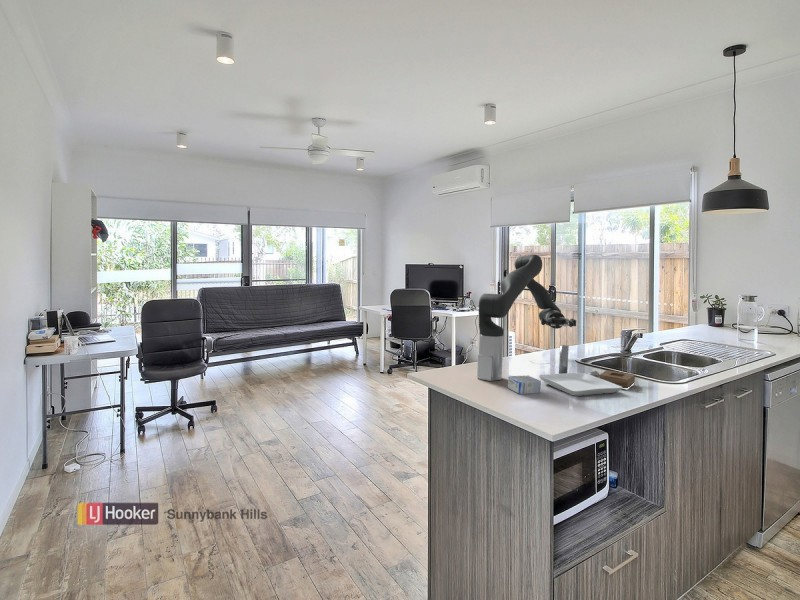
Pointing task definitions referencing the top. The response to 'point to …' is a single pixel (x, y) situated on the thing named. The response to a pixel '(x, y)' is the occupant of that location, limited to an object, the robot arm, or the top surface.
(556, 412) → the top surface
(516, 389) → the medicine box
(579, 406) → the top surface
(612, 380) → the hole block
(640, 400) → the top surface
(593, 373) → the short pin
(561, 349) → the tall pin
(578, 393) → the salad plate
